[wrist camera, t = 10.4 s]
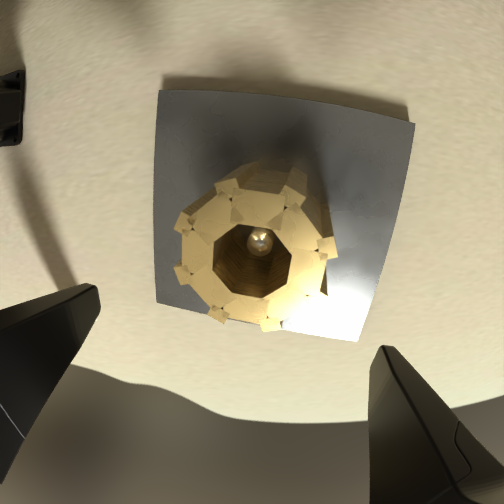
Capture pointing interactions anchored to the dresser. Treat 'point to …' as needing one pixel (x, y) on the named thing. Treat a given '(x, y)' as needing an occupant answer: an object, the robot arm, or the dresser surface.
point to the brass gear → (247, 264)
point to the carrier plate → (282, 159)
